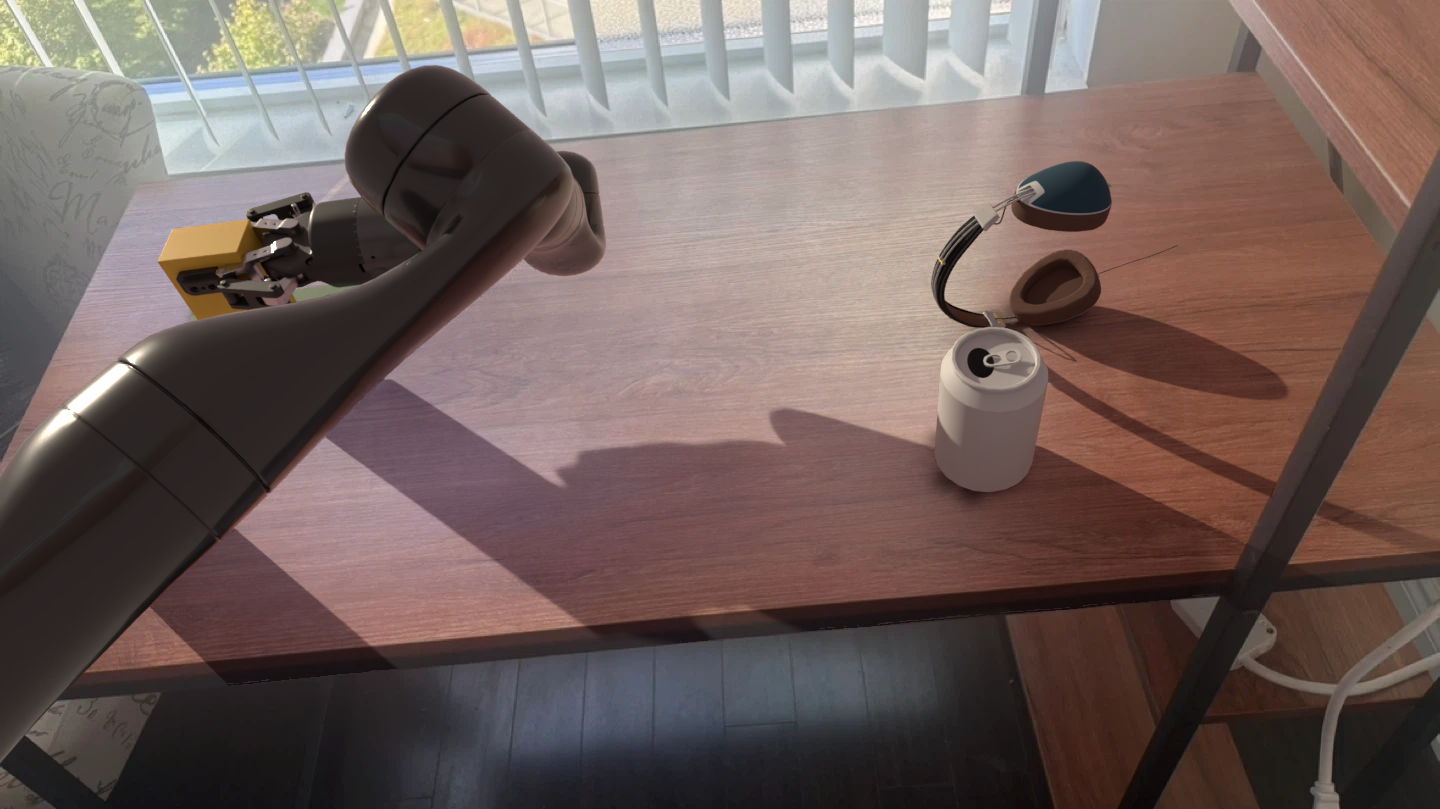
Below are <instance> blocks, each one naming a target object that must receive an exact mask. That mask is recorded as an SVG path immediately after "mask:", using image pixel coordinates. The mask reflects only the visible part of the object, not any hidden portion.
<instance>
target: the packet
mask: <svg viewBox="0 0 1440 809" xmlns="http://www.w3.org/2000/svg"><path fill="white" fill-rule="evenodd" d="M246 219H247V218H246ZM246 219H241V220H240V219H239V220H231V221H223V222H216V223H215V222H214V223H208V224H200V225H191V226H183V227H176V228H172V230H171V232H170V234H169V236H168V238H167V241H166V242H165V244H164V247H163V248H162V251H161V253H160V255H159V258H158V260H157V263H158V265H159V266H160V268H161V269H162V270H163V272H164V274H165V275H166V277H167V278H168V279H169V281H170V283H172V285H173V287H174V288H175V290H176V291H177V292H178V295H180V297H181V298H182V300H183V301H184V302H185V304H186V305H187V307H188V308H189V311H191V313H192V315H193V314H194V315H195V317H196V318H197V320H200V319H205V318H209V317H214V316H219V315H223V314H228V313H234V312H239V311H245V310H243V309H233V308H231V307H230V305H229V304H228V301H227V300H226V298H225V297H224V295H223V294H222V292H220V293H212V294H205V295H197V296H192V295H189V294H187V293H185V292H184V290H183V289H182V288H181V286H180V285H179V283H178V282H177V280H176V278H177V275H178V273H179V272H180V271H185V270H193V269H200V268H207V267H215V266H218V268H219V267H222V266H224V265H228V264H231V263H238V262H241V261H242V255H243V254H245V253H248V252H251V251H254V250H257V249H260V248H262V244H261V242H260V240H259V239H258V237H257V235H256V234H255V232H254V230H253V227H254V226H253V224H252V223H251V221H250V219H247V220H246ZM256 265H257V267H258V268H259V270H260V272H261V273H262V274H263V275H265V276H268V275H267V274H266V272H265V271H264V269H263V267H262V266H261V264H260V263H257V264H256ZM235 277H236V278H237V279H241V280H247V279H251V278H250V277H249V275H248V274H247V273H241V274H238V275H235ZM242 296H243V295H242ZM289 300H290V301H291V303H294V302H296V299H295V298H294V296H293V294H292V295H291V296H290V298H289Z"/></svg>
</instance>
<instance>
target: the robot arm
mask: <svg viewBox="0 0 1440 809" xmlns="http://www.w3.org/2000/svg"><path fill="white" fill-rule="evenodd" d="M344 166H345V171H346V174H347V177H348V179H349V182H350V184H351V185H352V187H353V188H354V189H355V191H356V192H357V193H358V194H359V196H358V197H350V198H344V199H343V198H341V199H335V200H334V199H333V200H328V201H322V202H318V203H316V202H315V200H314V198H313V196H312V194H311V193H310V192H307V191H305V192H302V193H298V194H295V195H291V196H288V197H285V198H281V199H278V200H275V201H271V202H267V203H265V204H261V205H258V206H254V207H251V208H249V209H248V210H246V212H244V213H245V216H246V218H245V220H247V219H250V221H251V223H252V224H253V226H254V227H253V230H254V232H255V234H256V235H257V237H258V239H259V240H260V242H261V244H262V248H260V249H257V250H254V251H251V252H248V253H245V254H243V255H242V261H241V262H238V263H231V264H228V265H224V266H222V267H219V268H218V266H215V267H207V268H200V269H193V270H185V271H180V272H179V273H178V275H177V278H176V280H177V282H178V283H179V285H180V286H181V288H182V289H183V290H184V292H185V293H187V294H189V295H192V296H197V295H205V294H212V293H220V292H222V294H223V295H224V297H225V298H226V300H227V301H228V304H229V305H230V307H231V308H233V309H243V310H245V311H239V312H234V313H228V314H223V315H219V316H214V317H209V318H205V319H200V320H196V321H192V322H190V321H188V322H184V323H181V324H177V325H174V326H171V327H168V328H165V329H162V330H160V331H158V332H154V333H153V334H151V335H148V336H147V337H145V338H143V339H142V340H140V341H138V342H137V343H135V344H134V345H133V346H131V347H130V348H129V349H127V350H126V351H125V352H124V353H122V354H121V355H120V356H119V357H118V358H117V360H115V361H113V362H112V363H111V364H108V366H107V367H106V368H105V369H103V370H102V371H101V372H100V373H98V374H97V375H96V376H94V377H93V378H92V379H91V380H90V381H88V382H87V383H86V384H85V385H84V386H82V387H81V388H80V389H79V390H77V392H75V393H74V394H72V395H71V396H70V397H69V398H67V400H66V401H64V402H63V403H61V405H60V406H58V407H57V408H55V409H54V410H53V411H52V412H51V413H49V415H47V416H46V418H44V419H43V420H42V421H41V422H40V423H39V424H37V426H35V428H34V429H32V430H31V432H30V433H29V434H28V435H27V436H26V437H25V439H24V440H23V441H22V442H21V444H19V446H18V447H17V448H16V450H15V451H14V453H13V454H12V456H11V458H10V459H8V462H7V463H6V465H5V466H4V468H3V470H2V471H1V473H0V764H1V763H2V762H3V761H4V759H5V758H6V757H8V755H9V754H10V753H11V752H12V750H13V749H14V748H15V747H16V746H17V745H18V743H19V742H20V741H22V739H23V738H24V737H25V736H26V735H27V733H28V732H29V731H31V729H32V728H33V727H34V726H35V725H36V724H37V723H38V722H39V720H41V718H42V717H43V716H44V715H45V714H46V713H47V712H48V711H49V710H50V709H51V708H52V706H53V705H54V704H55V703H57V701H58V700H59V699H60V698H61V697H62V696H63V695H64V694H65V693H66V692H67V691H68V690H69V689H70V688H71V687H72V685H74V683H76V682H77V681H78V679H79V678H80V677H81V676H83V674H84V673H86V672H87V670H89V668H91V666H92V665H93V664H95V663H96V661H97V660H99V658H101V657H102V656H103V654H105V652H107V650H109V648H110V647H111V646H112V645H114V643H115V642H117V640H119V638H120V637H121V636H122V635H123V634H124V633H125V632H127V630H128V629H129V628H130V627H131V626H132V625H133V624H134V623H135V622H136V621H137V620H138V619H139V618H140V617H141V616H142V615H143V614H144V613H145V612H146V611H147V610H148V609H149V608H150V607H151V606H152V605H153V604H154V603H155V602H156V601H157V600H158V599H159V598H161V596H163V594H164V593H166V591H167V590H168V589H170V587H171V586H173V585H174V584H175V583H176V582H177V581H178V580H179V579H180V578H182V577H183V576H184V575H185V574H186V573H187V572H188V571H189V570H191V569H192V567H194V566H195V565H196V564H197V563H199V561H200V560H201V559H203V558H204V557H205V556H206V555H207V554H208V553H209V552H210V551H212V550H213V549H214V548H215V547H216V546H217V545H218V544H219V543H220V542H221V541H222V540H223V539H225V537H227V536H228V535H229V534H230V533H231V532H232V531H233V530H234V529H235V528H236V527H237V526H238V525H239V524H240V523H242V521H243V520H244V519H245V518H246V517H248V515H249V514H251V512H253V511H254V509H255V508H257V507H258V506H259V505H260V504H261V503H262V502H263V501H264V500H266V498H267V497H268V495H269V494H271V493H272V492H274V490H275V489H276V488H277V487H278V486H279V485H280V484H281V483H282V482H283V481H284V480H285V479H286V478H287V477H288V476H289V475H290V474H291V473H292V472H293V471H294V470H295V468H297V466H298V465H300V463H301V462H303V460H304V459H305V458H306V457H308V455H310V453H311V452H312V451H313V450H314V449H315V448H316V447H317V446H318V444H320V443H321V442H322V441H323V440H324V439H325V438H326V437H327V436H328V435H329V433H330V432H331V431H333V430H334V428H336V427H337V425H339V423H340V422H341V421H343V419H344V418H346V417H347V415H348V414H349V413H350V412H351V411H352V410H353V409H354V408H355V407H356V406H357V405H358V404H359V403H360V402H361V401H362V400H363V399H364V398H365V397H367V396H368V394H370V393H371V392H372V391H373V390H374V389H375V388H376V387H377V386H378V385H379V384H381V382H383V380H384V379H385V378H386V377H388V376H389V375H390V374H391V373H392V372H393V371H394V370H395V369H396V368H398V366H400V365H401V364H402V363H403V362H404V361H405V360H406V359H408V358H409V357H410V356H411V355H412V354H413V353H415V352H416V351H417V350H418V349H419V348H421V347H422V346H423V345H424V344H425V343H427V342H428V341H429V340H430V339H431V338H433V337H434V336H435V335H436V334H437V333H439V331H441V330H442V329H443V328H444V327H446V326H447V325H448V324H449V323H450V322H451V321H453V320H454V319H455V318H457V317H458V316H459V315H460V314H461V313H462V312H463V311H464V310H466V309H467V308H469V307H470V306H471V305H472V304H473V303H474V302H475V301H477V300H478V299H479V298H480V297H482V296H483V295H484V294H485V293H486V292H487V291H489V290H490V289H491V288H492V287H493V286H494V285H496V284H497V283H498V282H499V281H501V279H503V278H504V277H505V276H506V275H507V274H508V273H510V272H511V271H512V270H513V269H514V268H515V267H516V266H517V265H519V264H520V263H521V262H522V261H524V262H525V263H526V264H528V266H530V267H531V268H533V269H534V270H536V271H538V272H540V273H543V274H547V275H550V276H555V277H572V276H577V275H582V274H584V273H587V272H589V271H591V270H593V269H594V268H596V266H597V265H599V264H600V262H601V261H602V259H603V258H604V255H605V253H606V248H607V239H606V238H607V236H606V230H605V224H604V223H605V222H604V216H603V209H602V208H603V207H602V202H601V200H602V199H601V196H600V186H599V179H598V174H597V171H596V170H597V169H596V167H595V165H594V163H592V161H591V160H589V158H587V157H586V156H585V155H582V154H580V153H577V152H575V151H570V150H555V148H553V147H552V146H551V145H550V144H549V143H548V141H546V140H544V138H542V137H541V136H540V135H539V134H538V133H536V132H535V131H534V129H532V128H530V127H529V125H527V124H526V123H525V122H524V121H522V120H521V119H520V118H519V117H518V116H516V114H514V113H513V112H512V111H511V110H510V109H508V107H507V106H505V105H504V104H502V102H500V101H499V100H498V99H497V98H496V97H494V96H493V95H492V94H491V93H490V92H488V90H486V89H485V88H484V87H483V86H481V84H479V83H477V82H476V81H475V80H473V79H471V78H470V77H468V76H467V75H465V74H463V73H461V72H460V71H458V70H455V69H454V68H451V67H449V66H444V65H437V64H431V65H427V64H426V65H421V66H417V67H413V68H411V69H408V70H406V71H403V72H402V73H400V74H398V75H396V76H395V77H394V78H393V79H391V80H390V81H388V82H387V83H386V84H384V86H382V88H380V89H379V90H378V92H376V93H375V94H374V96H372V98H371V99H370V100H369V102H368V103H367V104H366V105H365V107H364V108H363V109H362V111H361V112H360V113H359V115H358V116H357V118H356V120H355V122H354V124H353V126H352V128H351V129H350V131H349V135H348V137H347V141H346V142H345V149H344ZM273 215H275V216H276V217H277V219H275V218H265V217H268V216H273ZM257 263H260V264H261V266H262V267H263V269H264V271H265V272H266V274H267V275H268V276H265V275H263V274H262V273H261V272H260V270H259V268H258V267H257V265H256V264H257ZM241 273H247V274H248V275H249V277H250V278H251V279H247V280H241V279H237V278H236V277H235V275H238V274H241ZM317 282H321V283H324V284H325V285H331V286H333V287H337V288H341V287H348V286H356V285H359V286H356V287H353V288H350V289H347V290H344V291H341V292H338V293H334V294H331V295H327V296H324V297H319V298H314V299H309V300H304V301H299V302H294V303H291V301H290V300H289V298H290V296H291V295H292V293H293V292H294V290H297V288H298V289H299V288H300V289H301V288H303V287H304V288H305V287H306V286H309V285H311V284H313V283H317ZM242 295H243V296H242Z"/></svg>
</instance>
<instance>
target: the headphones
mask: <svg viewBox="0 0 1440 809" xmlns="http://www.w3.org/2000/svg"><path fill="white" fill-rule="evenodd" d="M1111 187H1112V184H1111V183H1109V182H1108V181H1107V180H1106V178H1105V176H1104V175H1103V174H1102V172H1101V171H1100V170H1099V169H1098V168H1097V167H1096V166H1094V165H1093V164H1091V163H1089V162H1087V161H1081V160H1071V161H1065V162H1062V163H1061V162H1060V163H1058V164H1054V165H1052V166H1049V167H1047V168H1044V169H1042V170H1040V171H1037V172H1035V173H1033V174H1030V175H1029V176H1028V177H1026V178H1024V179H1023V180H1022V181H1021V182H1020V183H1019V184H1017V187H1016V188H1015V191H1014V194H1013V195H1011V196H1009V197H1007V198H1006V199H1004V200H1001V201H999V202H998V203H996V204H995V205H992V204H991V203H990V202H988V203H986V204H984V205H982V206H980V207H979V208H976V209H974V210H973V211H971V213H972V216H971V217H970V218H969V219H968V220H967V221H965V222H964V223H963V224H962V225H961V226H960V227H959V228H958V229H957V230H956V231H955V233H954V234H953V235H952V236H951V237H950V239H949V240H948V241H947V243H946V244H945V246H944V247H943V249H942V250H941V252H940V253H939V255H938V256H937V259H936V261H935V264H934V267H933V270H932V275H931V280H930V288H931V293H932V296H933V299H934V301H935V303H936V305H937V306H938V308H939V309H940V311H941V312H943V313H944V315H946V316H947V318H948V319H949V320H953V321H954V322H957V323H959V324H961V325H964V326H967V327H970V328H976V329H979V328H985V327H1003V328H1006V327H1007V324H1010V323H1015V322H1020V323H1022V324H1025V325H1030V326H1042V325H1043V326H1044V325H1052V324H1057V323H1061V322H1065V321H1068V320H1071V319H1074V318H1076V317H1078V316H1081V315H1083V314H1084V313H1086V312H1088V311H1089V310H1090V309H1091V308H1093V307H1094V306H1095V305H1096V304H1097V302H1098V301H1099V299H1100V297H1101V294H1102V285H1101V284H1102V283H1101V280H1100V277H1101V276H1100V274H1103V273H1105V272H1108V271H1111V270H1114V269H1117V268H1119V267H1123V266H1125V265H1128V264H1131V263H1134V262H1137V261H1140V260H1144V259H1147V258H1151V257H1153V256H1156V255H1159V254H1161V253H1164V252H1167V251H1169V250H1171V249H1174V248H1175V247H1179V245H1178V244H1177V245H1175V246H1172V247H1170V248H1168V249H1167V248H1166V249H1164V250H1162V251H1159V252H1156V253H1153V254H1151V255H1149V256H1145V257H1142V258H1139V259H1136V260H1132V261H1129V262H1127V263H1124V264H1120V265H1118V266H1115V267H1112V268H1109V269H1106V270H1104V271H1101V272H1098V271H1097V269H1096V267H1095V266H1094V264H1093V263H1092V262H1091V260H1090V259H1089V258H1088V257H1087V256H1086V255H1084V254H1083V253H1081V252H1080V251H1078V250H1074V249H1063V250H1061V249H1060V250H1057V251H1054V252H1052V253H1049V254H1047V255H1046V256H1044V257H1042V258H1041V259H1039V260H1038V261H1036V262H1035V263H1034V264H1033V265H1031V266H1030V267H1029V268H1027V270H1025V271H1024V272H1023V273H1022V274H1021V276H1020V277H1019V278H1018V279H1017V281H1016V282H1015V284H1014V286H1013V287H1012V289H1011V291H1010V294H1009V299H1008V300H1009V301H1008V304H1009V307H1010V309H1011V312H1012V314H1013V315H1011V316H1005V317H1002V315H1000V313H997V312H994V311H988V310H984V311H982V313H979V312H974V311H971V310H967V309H964V308H960V307H959V306H955V305H953V304H951V303H950V302H948V301H947V300H946V298H945V294H946V293H945V292H946V287H947V283H948V280H949V278H950V276H951V273H952V271H953V270H954V268H955V266H957V263H958V262H959V260H960V259H961V258H962V257H963V255H964V254H965V252H966V251H968V249H969V248H970V247H971V246H972V245H973V243H975V241H976V240H977V238H978V237H979V236H980V235H981V234H982V232H988V231H989V229H990V228H991V227H992V226H994V225H998V226H999V225H1000V224H1001V223H1002V221H1003V219H1004V217H1005V216H1004V215H1005V212H1006V209H1007V207H1009V206H1010V205H1011V206H1010V207H1011V208H1010V210H1011V213H1012V215H1013V216H1014V217H1015V218H1016V219H1017V220H1019V221H1020V222H1021V223H1023V224H1025V225H1028V226H1031V227H1035V228H1039V229H1042V230H1048V231H1054V232H1055V231H1056V232H1063V233H1064V232H1065V233H1066V232H1067V233H1078V232H1087V231H1089V232H1090V231H1094V230H1096V229H1098V228H1100V227H1102V226H1103V225H1104V224H1106V221H1107V220H1108V217H1109V214H1110V212H1111V209H1112V205H1113V199H1112V195H1111V190H1110V188H1111ZM1004 203H1005V204H1004ZM1002 204H1004V205H1002ZM1000 205H1002V206H1000ZM998 206H1000V207H998ZM997 207H998V208H997ZM995 208H997V209H995ZM1001 210H1003V211H1002V215H1001V216H1000V215H999V214H998V213H997V212H999V211H1001ZM1000 217H1001V218H1000ZM998 220H999V221H998ZM1009 319H1012V320H1009ZM1004 320H1007V321H1004Z"/></svg>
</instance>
